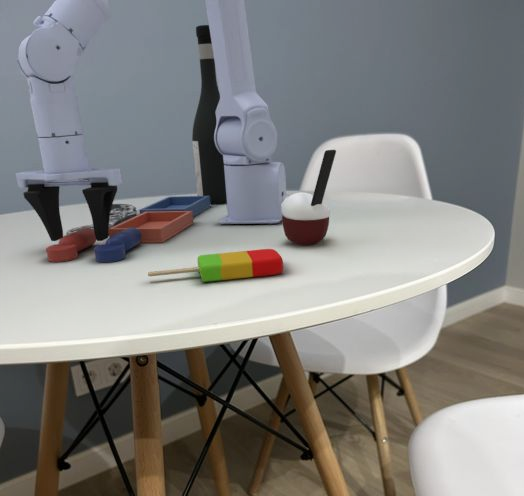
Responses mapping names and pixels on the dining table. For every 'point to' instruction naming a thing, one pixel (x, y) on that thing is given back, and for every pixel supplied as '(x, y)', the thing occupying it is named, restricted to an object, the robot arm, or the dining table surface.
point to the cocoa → (308, 209)
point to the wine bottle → (207, 126)
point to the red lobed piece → (71, 245)
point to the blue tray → (180, 204)
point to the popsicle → (233, 265)
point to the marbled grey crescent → (114, 216)
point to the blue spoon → (118, 245)
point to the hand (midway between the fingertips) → (79, 239)
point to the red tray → (156, 225)
